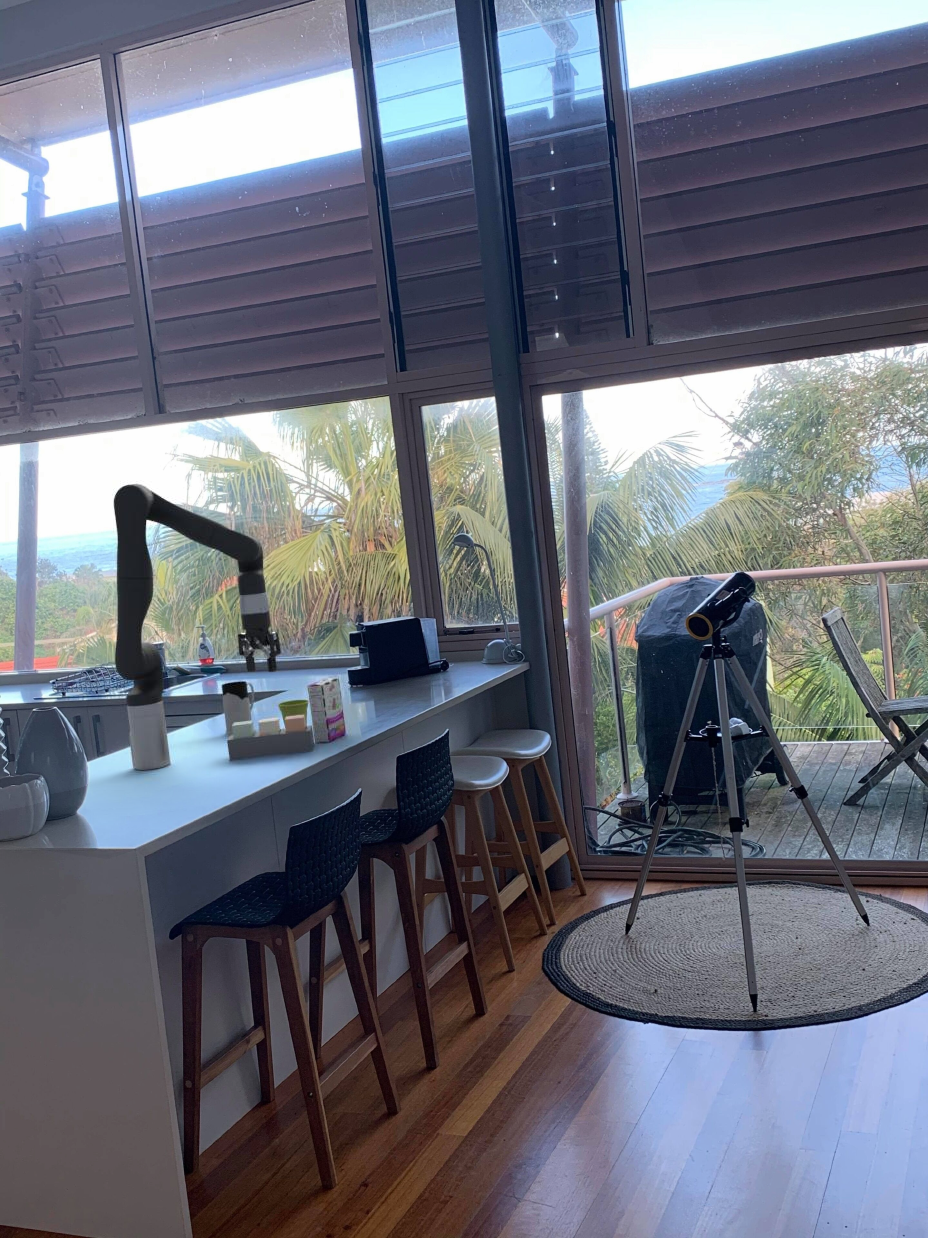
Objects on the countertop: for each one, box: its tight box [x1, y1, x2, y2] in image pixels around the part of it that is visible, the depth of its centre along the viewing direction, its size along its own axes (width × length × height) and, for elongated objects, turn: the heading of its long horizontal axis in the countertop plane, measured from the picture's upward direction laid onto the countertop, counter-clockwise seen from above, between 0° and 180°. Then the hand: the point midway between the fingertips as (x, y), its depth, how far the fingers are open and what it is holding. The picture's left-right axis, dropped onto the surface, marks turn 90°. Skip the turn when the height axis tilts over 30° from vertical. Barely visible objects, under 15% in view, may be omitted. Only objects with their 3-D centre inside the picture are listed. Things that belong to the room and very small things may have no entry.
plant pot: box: [277, 699, 310, 729], centre depth 338 cm, size 9×9×9 cm
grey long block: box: [226, 724, 315, 762], centre depth 307 cm, size 22×8×6 cm, turn 94°
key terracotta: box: [284, 714, 306, 733], centre depth 308 cm, size 5×5×5 cm
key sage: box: [232, 719, 255, 739], centre depth 307 cm, size 5×5×5 cm
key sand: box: [257, 716, 281, 735], centre depth 307 cm, size 5×5×5 cm
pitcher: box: [221, 680, 255, 736], centre depth 349 cm, size 9×14×15 cm, turn 158°
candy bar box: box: [307, 677, 347, 744], centre depth 319 cm, size 11×5×16 cm, turn 161°
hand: (262, 671), depth 304 cm, fingers open, 8 cm apart
